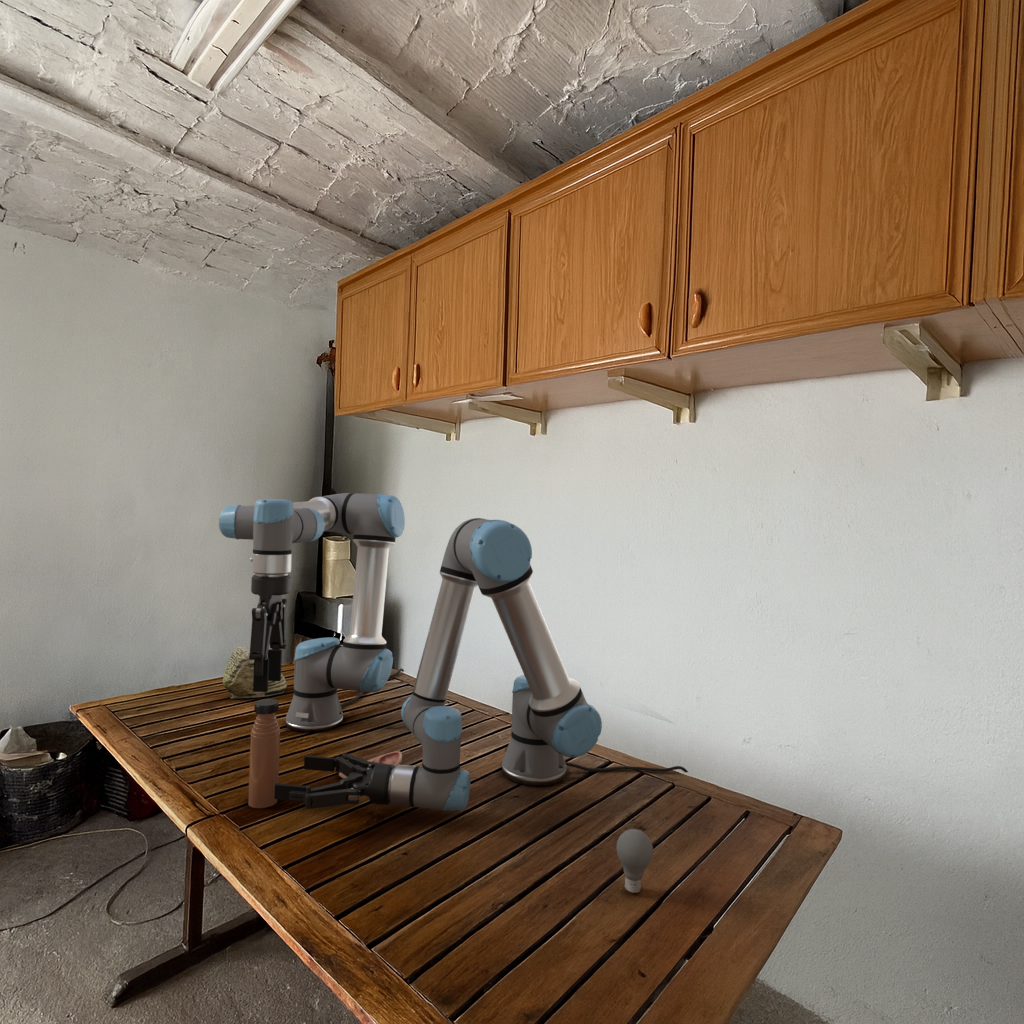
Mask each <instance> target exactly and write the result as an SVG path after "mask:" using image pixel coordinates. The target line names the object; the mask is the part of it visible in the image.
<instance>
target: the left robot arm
mask: <svg viewBox="0 0 1024 1024" xmlns="http://www.w3.org/2000/svg"><path fill="white" fill-rule="evenodd" d="M404 511H405V510H404V507H403V504H402V502H401V500H400V499H398V497H397V496H395V495H390V494H384V493H358V492H357V493H356V492H342V493H334V494H329V495H322V496H315V497H313V498H311V499H309V500H308V501H307V500H306V501H295V502H293V501H292V500H290V499H276V498H275V499H274V498H259V499H257V500H256V501H255V503H254V505H241V504H237V505H227V506H225V507H224V508H223V509H222V511H221V512H220V514H219V517H218V528H219V531H220V533H221V534H222V535H223V537H225V538H228V539H234V540H235V539H236V540H250V541H252V556H251V557H250V558H249V559H250V563H251V562H252V563H251V566H252V567H251V572H252V573H253V575H252V576H251V582H250V583H251V585H250V591H251V594H253V595H257V596H258V597H259V599H258V603H257V606H256V607H252V609H251V631H250V641H249V642H250V644H249V645H250V646H249V648H250V655H249V659H252V660H254V678H253V692H267V691H268V681H281V673H282V664H283V663H282V661H283V659H282V658H283V650H286V649H287V647H288V645H287V644H286V643H287V606H288V605H287V604H288V598H283V595H287V594H290V592H291V583H292V581H291V580H292V579H291V578H292V577H291V576H290V575H289V574H291V572H292V561H293V560H292V558H293V557H292V556H293V554H292V551H293V544H300V543H305V544H307V543H308V544H309V543H310V542H314V541H316V540H318V539H320V537H321V536H322V535H323V534H324V532H331V533H338V534H344V535H352V541H353V543H354V544H355V545H356V547H357V551H356V552H357V553H356V563H355V571H354V572H355V574H354V584H353V594H352V595H353V596H352V605H351V615H350V626H349V627H350V628H349V634H348V635H347V636H346V637H345V638H344V639H343V641H342V644H340V643H341V641H340V639H339V638H338V637H334V636H333V637H318V638H313V639H307V640H304V641H302V642H299V643H298V644H297V645H296V647H295V652H294V653H295V654H294V659H293V661H294V672H293V695H292V696H293V697H292V699H291V702H290V704H289V708H288V711H287V713H286V715H285V726H286V728H287V729H289V730H291V731H294V732H295V731H296V732H301V733H316V732H325V731H329V730H332V729H335V728H337V727H339V726H340V725H342V723H343V722H344V714H343V709H342V707H344V706H347V705H350V704H352V703H354V702H355V701H357V700H359V699H360V698H361V697H362V695H363V694H364V693H377V692H379V691H381V690H382V689H383V688H384V687H385V685H386V684H387V682H388V680H389V679H390V678H393V677H396V676H397V675H399V674H400V673H401V672H402V673H403V672H405V670H404V668H402V667H401V668H399V669H398V670H397V671H396V672H395V673H393V674H391V673H392V669H393V664H394V657H393V652H392V651H391V650H390V649H388V648H387V640H386V639H385V638H384V637H383V635H382V634H383V624H384V613H385V612H384V611H385V602H386V601H385V599H386V589H387V578H388V565H389V554H390V549H391V548H392V547H393V546H394V545H396V538H399V537H401V536H402V535H403V533H404V530H405V525H406V523H405V522H406V520H405V512H404ZM258 652H259V653H258ZM267 655H268V659H267ZM338 690H347V691H354V692H355V691H357V692H359V694H358V695H357V696H355V697H354V698H351V699H350V700H348V701H345V702H343V703H341V702H340V699H339V695H338Z"/></svg>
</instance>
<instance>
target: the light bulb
mask: <svg viewBox="0 0 1024 1024" xmlns="http://www.w3.org/2000/svg"><path fill="white" fill-rule="evenodd" d="M615 849H616V854H617V857H618V859H619V861H620V863H621V865H622V867H623V873H624V874H623V875H624V876H625V878H624V888H625V890H627V891H628V892H630V893H634V894H635V893H639V892H640V891H641V889H642V887H641V886H642V879H643V877H644V875H645V871H646V868H647V867H648V866H649V864H650V863H651V861H652V859H653V855H654V847H653V843H652V841H651V838H649V836H648V835H647V834H646V833H645V832H643V831H642V830H641V829H636V828H629V829H627V830H625V831H623V832H622V833H621V834H620V835H619V837H618V839H617V841H616V847H615Z"/></svg>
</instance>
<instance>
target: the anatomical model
mask: <svg viewBox="0 0 1024 1024" xmlns="http://www.w3.org/2000/svg"><path fill="white" fill-rule="evenodd" d="M366 760H367V761H370V762H376V763H382V764H393V765H394V766H395V767H396V766H397V765H401V763H402V761H403V754H402V751H399V750H397V751H391V752H387V753H384V754H381V755H377V756H375V757H373V758H370V759H366ZM338 776H339V777H340V778H342V779H344V778H347V776H345V775H344V774H342V773H341V772H338Z"/></svg>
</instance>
